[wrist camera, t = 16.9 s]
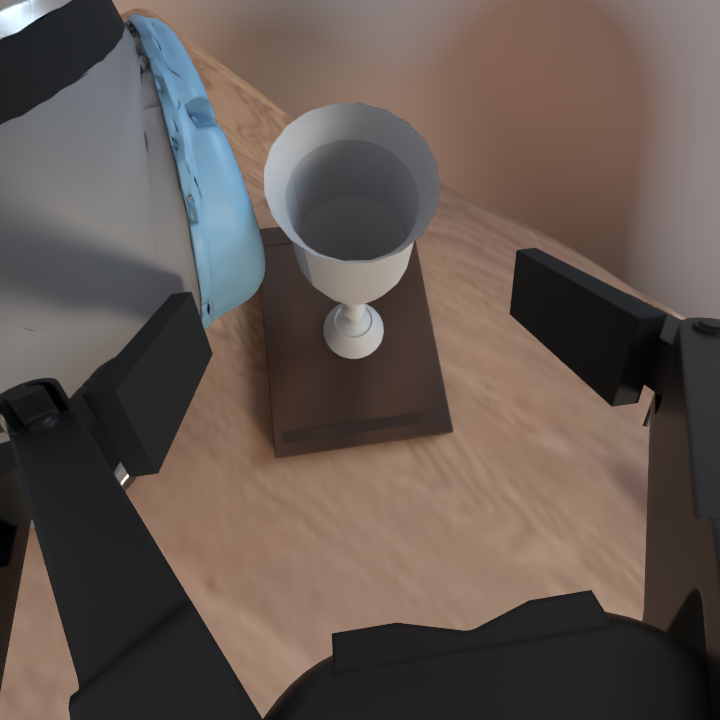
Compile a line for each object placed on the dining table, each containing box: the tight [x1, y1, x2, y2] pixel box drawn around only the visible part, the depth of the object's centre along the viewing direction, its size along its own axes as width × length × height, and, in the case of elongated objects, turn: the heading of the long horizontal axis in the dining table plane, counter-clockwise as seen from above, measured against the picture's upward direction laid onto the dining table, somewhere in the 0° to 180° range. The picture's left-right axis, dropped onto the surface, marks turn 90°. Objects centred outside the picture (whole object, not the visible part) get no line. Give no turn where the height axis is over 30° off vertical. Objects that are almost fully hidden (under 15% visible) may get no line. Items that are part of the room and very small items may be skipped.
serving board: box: [259, 227, 453, 458], centre depth 33 cm, size 14×20×2 cm
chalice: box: [264, 103, 441, 359], centre depth 24 cm, size 7×7×18 cm
